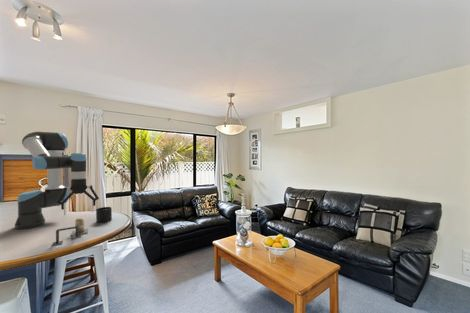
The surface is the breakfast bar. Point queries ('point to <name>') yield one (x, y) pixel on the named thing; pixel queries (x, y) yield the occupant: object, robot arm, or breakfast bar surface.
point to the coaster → (80, 233)
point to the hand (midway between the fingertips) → (79, 213)
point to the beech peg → (80, 224)
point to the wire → (65, 229)
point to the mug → (103, 214)
